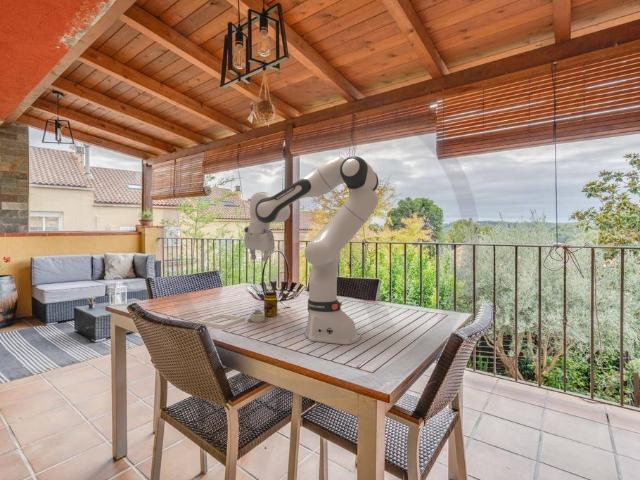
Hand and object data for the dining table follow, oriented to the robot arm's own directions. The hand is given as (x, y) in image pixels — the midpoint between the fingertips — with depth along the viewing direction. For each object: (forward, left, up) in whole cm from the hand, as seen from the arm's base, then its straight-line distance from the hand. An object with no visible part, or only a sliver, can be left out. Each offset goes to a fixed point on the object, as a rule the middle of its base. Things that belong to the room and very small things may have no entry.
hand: (258, 260), depth 154 cm
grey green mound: (+1, 0, -28) cm, 28 cm away
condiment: (+1, -10, -28) cm, 30 cm away
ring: (+1, 0, -27) cm, 27 cm away
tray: (+12, +11, -28) cm, 32 cm away
